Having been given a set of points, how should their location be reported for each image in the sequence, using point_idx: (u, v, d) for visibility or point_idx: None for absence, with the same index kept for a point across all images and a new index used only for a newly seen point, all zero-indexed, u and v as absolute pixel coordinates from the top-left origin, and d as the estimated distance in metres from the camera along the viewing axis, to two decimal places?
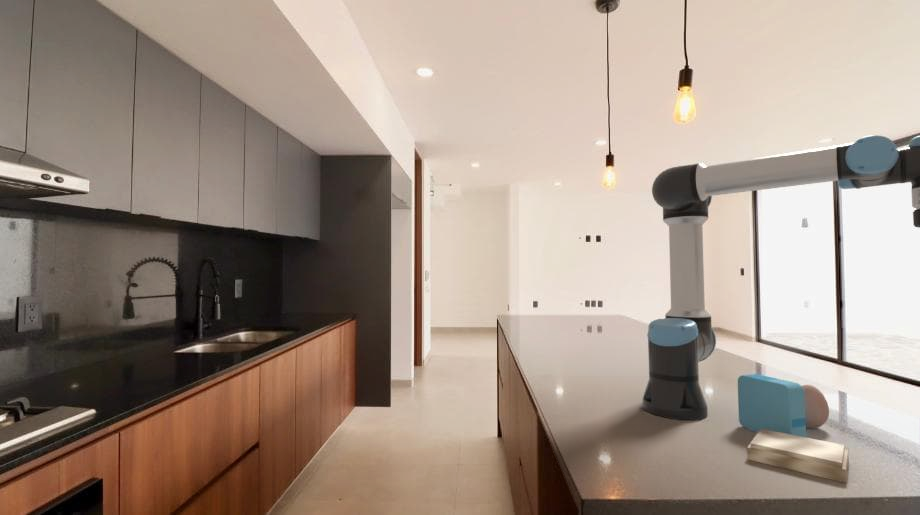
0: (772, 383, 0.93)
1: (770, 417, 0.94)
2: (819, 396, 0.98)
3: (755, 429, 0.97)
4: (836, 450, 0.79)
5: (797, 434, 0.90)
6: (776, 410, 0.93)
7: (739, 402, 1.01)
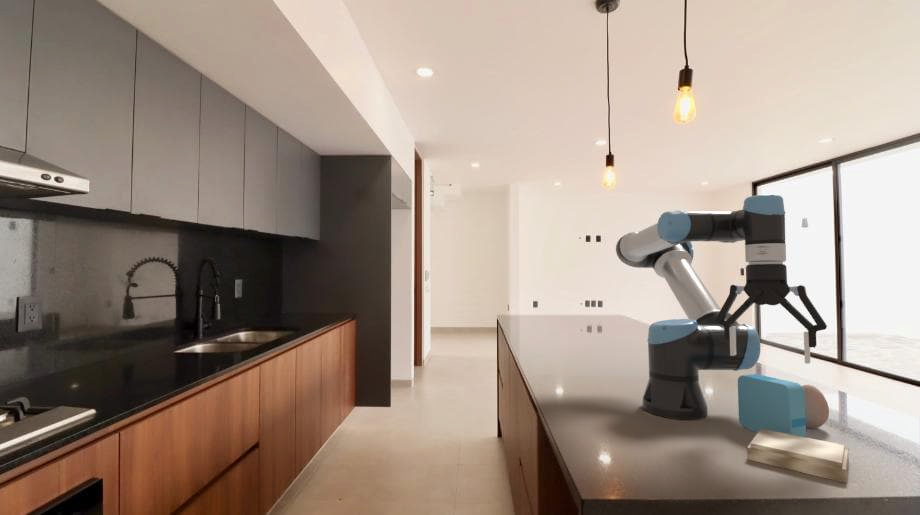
0: (772, 383, 0.93)
1: (770, 417, 0.94)
2: (819, 396, 0.98)
3: (755, 429, 0.97)
4: (836, 450, 0.79)
5: (797, 434, 0.90)
6: (776, 410, 0.93)
7: (739, 402, 1.01)
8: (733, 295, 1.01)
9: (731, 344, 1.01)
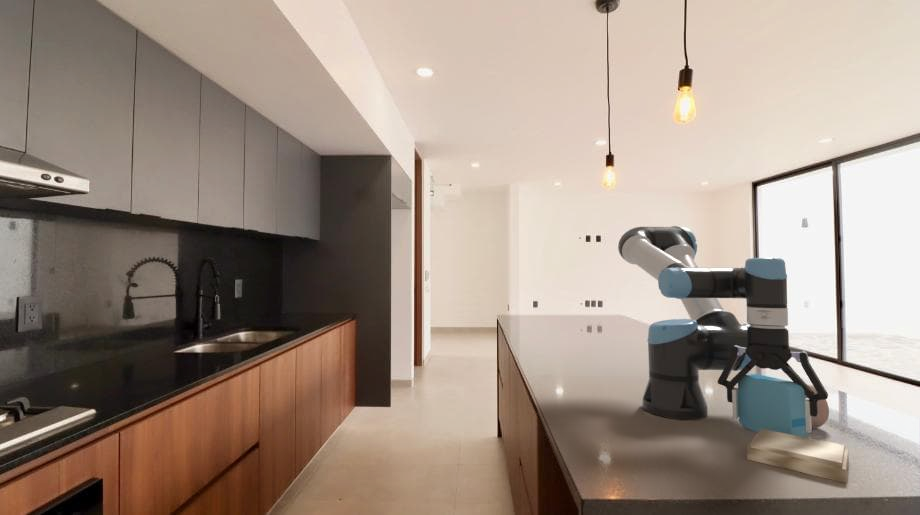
0: (772, 383, 0.93)
1: (770, 417, 0.94)
2: None
3: (755, 429, 0.97)
4: (836, 450, 0.79)
5: (797, 434, 0.90)
6: (776, 410, 0.92)
7: (739, 402, 1.01)
8: (735, 357, 1.00)
9: (734, 407, 1.00)
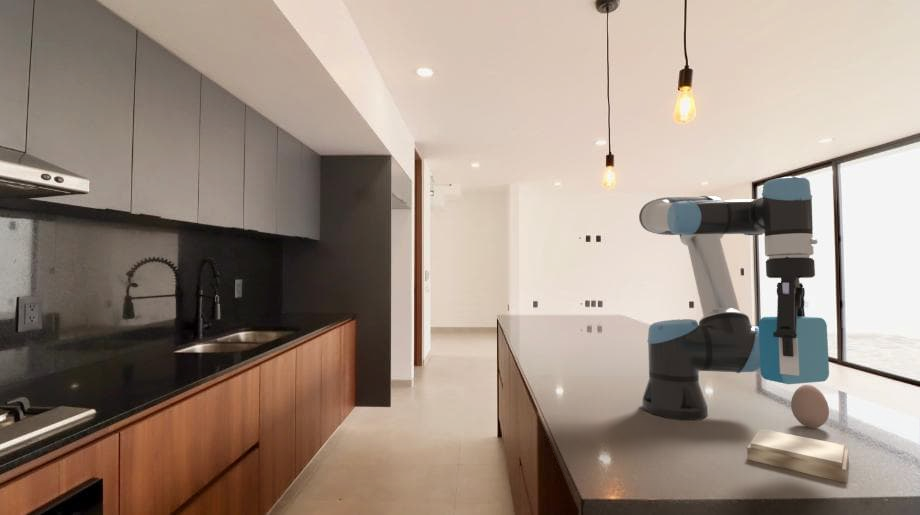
0: (813, 319, 0.82)
1: (813, 359, 0.81)
2: (819, 396, 0.98)
3: (800, 380, 0.80)
4: (836, 450, 0.79)
5: None
6: (817, 348, 0.82)
7: None
8: (794, 296, 0.78)
9: (798, 360, 0.77)
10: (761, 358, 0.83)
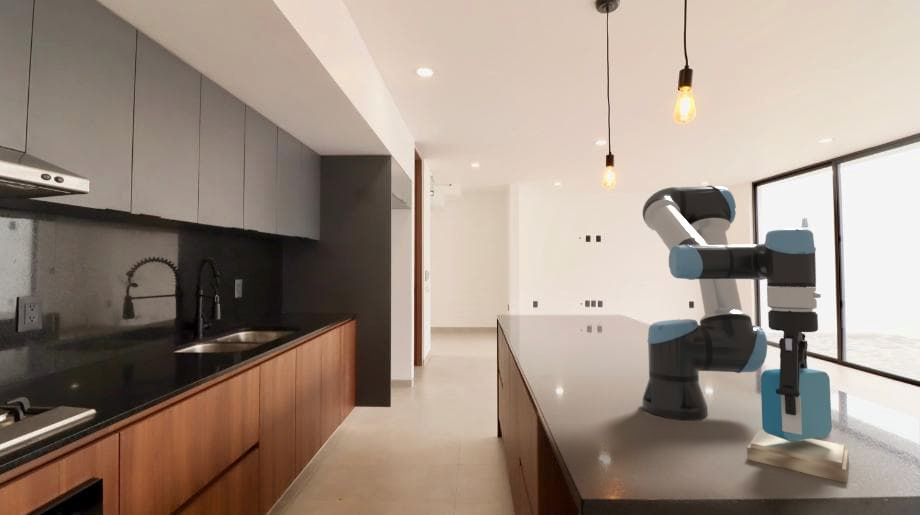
0: (816, 373, 0.81)
1: (815, 415, 0.80)
2: None
3: (802, 436, 0.79)
4: (836, 450, 0.79)
5: None
6: (820, 403, 0.81)
7: None
8: (797, 353, 0.77)
9: None
10: (763, 412, 0.82)
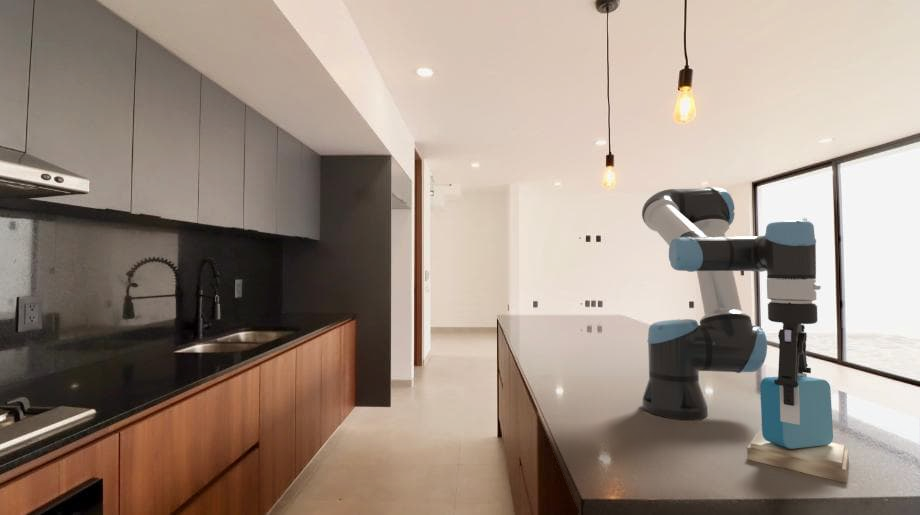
0: (816, 381, 0.81)
1: (816, 423, 0.80)
2: None
3: (802, 444, 0.79)
4: (836, 450, 0.79)
5: None
6: (821, 411, 0.81)
7: None
8: (796, 344, 0.78)
9: (799, 409, 0.77)
10: (763, 420, 0.82)
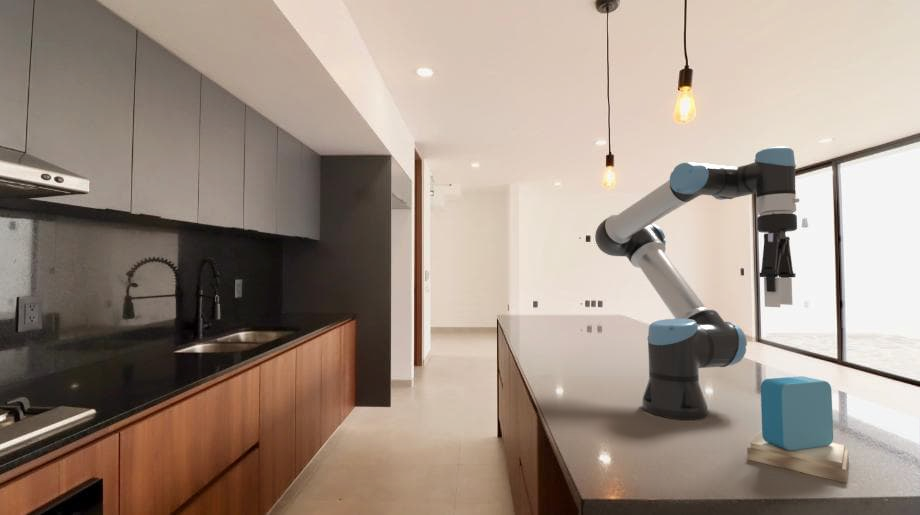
0: (817, 383, 0.81)
1: (816, 424, 0.80)
2: None
3: (802, 446, 0.79)
4: (836, 450, 0.79)
5: None
6: (821, 412, 0.81)
7: (785, 420, 0.78)
8: (777, 244, 0.96)
9: (779, 295, 0.95)
10: (763, 421, 0.82)
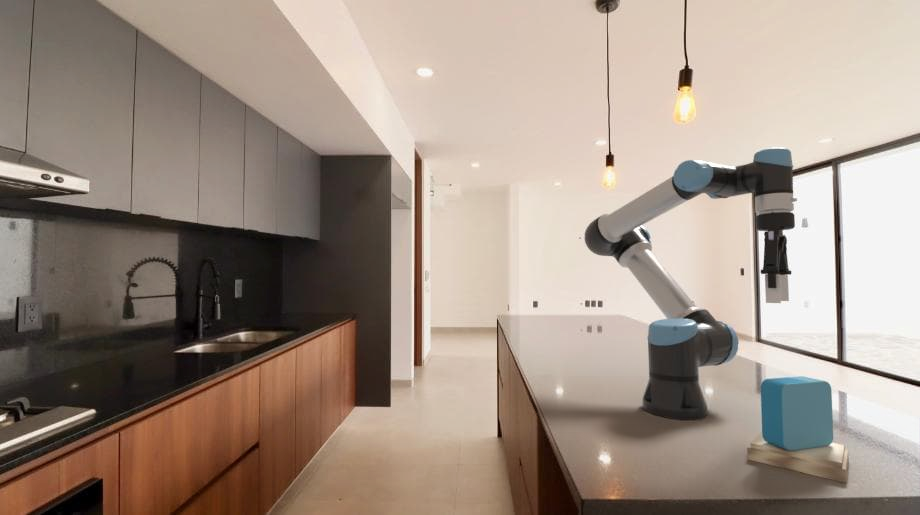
0: (817, 383, 0.81)
1: (816, 424, 0.80)
2: None
3: (802, 446, 0.79)
4: (836, 450, 0.79)
5: None
6: (821, 412, 0.81)
7: (785, 420, 0.78)
8: (778, 241, 0.99)
9: (780, 291, 0.97)
10: (763, 421, 0.82)
